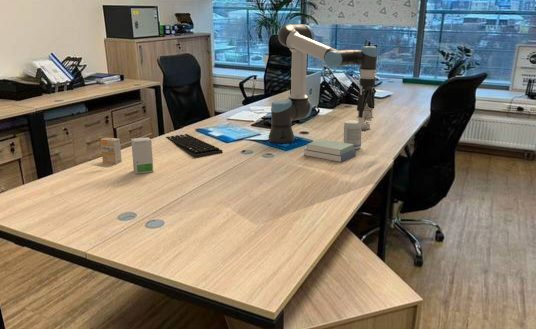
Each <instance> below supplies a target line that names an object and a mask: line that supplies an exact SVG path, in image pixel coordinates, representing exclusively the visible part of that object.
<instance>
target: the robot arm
mask: <svg viewBox="0 0 536 329" xmlns="http://www.w3.org/2000/svg"><path fill="white" fill-rule="evenodd" d="M277 38H278V41H279V43H280V45H282V46H284V47H286V48H288V49H289V51H290V52H291V79H290V84H291V85H290V86H291V87H290V88H291V90H290V95H289V96H288V98H282V99H276V100H274V101H272V102H271V108H270V112H271V113H270V114H271V116H270V117H271V118H270V119H271V128H270V131H269V135H268V142H269V143H275V144H288V143H292V142H294V141H295V134H294V131H293V128H292V126H293V125H292V122H293V121H294V122H295V121H297V120H303V119H306V118H308V117H309V116H310V115H311V113H312V110H313V106H312V103H311V101H310V100H309V96H308V95H307V94H306V93H307V92H306V91H307V64H308V63H307V61H308V60H307V58H308V57H307V55H309V56H311V57H313V58H314V59H315V58H316V59H317V60H320V61H322V62H324V63H325V64H326V66H328V67H332V68H336V67H343V66H360V74H359V76H360V78H359V85H360V86H362V90H360V89H359V91H358V100H357V106H356V111H357V112H358V111H359V117H358V118H357V119H358V120H357V121H358V123H359V124H364V123H365V122H372V119H373V118H370V119H368V120H366V121H365V122H364V112H365V111H364V107H365V104H366V105H367V106H368V107H370V108H371V109H373V108H374V109H375V90H376V89H375V86H376V75H377V71H376V70H377V59H378V48H377V46H374V45H373V46H369V45H367V46H366V45H363V46H362V47H361V49H349V48H348V49H347V48H346V49H343V50H342V49H341V50H338V49H336V48H333V47H331V46H329V45H325V44H323V43H321V42H319V41H316V40H315V32H314V30H313V28H312V27H311V26H309V25H308V24H302V23H301V24H297V23H296V24H293V23H292V24H285V25H283V26H282V27H280V29H279V30H278V33H277Z"/></svg>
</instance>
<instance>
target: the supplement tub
mask: <svg viewBox="0 0 536 329" xmlns="http://www.w3.org/2000/svg"><path fill="white" fill-rule="evenodd" d="M343 123H344V125H343V143H349V144H354V150H358V149H361V148H362V131H363V130H362V124H359V123H358V120H354V119H353V120H351V119H350V120H345V121H344V122H343Z"/></svg>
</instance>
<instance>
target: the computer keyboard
mask: <svg viewBox="0 0 536 329" xmlns="http://www.w3.org/2000/svg"><path fill="white" fill-rule="evenodd" d="M165 139H168V140H169V141H170V142H172V143H173V145H174V146H176V147H177V148H179V149H180V150H182V151H183V152H185V153H187V154H188V155H189V156H191V157H193V158H194V159H197V158H198V159H199V158H204V157H207V156H214V155H219V154H223V153H224V152H223V150H222V149H220V147H217V146H214V145H213V144H210V143H208V142H206V141H204V140H201V139H199V138H196V137H194V136H193V135H190V134H188V133H185V134H179V135H178V134H176V135H171V136H170V135H169V136H165Z"/></svg>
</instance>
